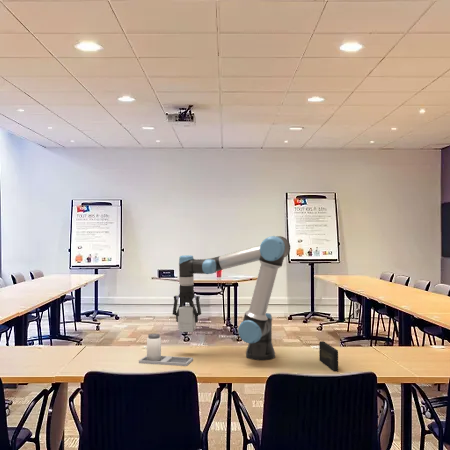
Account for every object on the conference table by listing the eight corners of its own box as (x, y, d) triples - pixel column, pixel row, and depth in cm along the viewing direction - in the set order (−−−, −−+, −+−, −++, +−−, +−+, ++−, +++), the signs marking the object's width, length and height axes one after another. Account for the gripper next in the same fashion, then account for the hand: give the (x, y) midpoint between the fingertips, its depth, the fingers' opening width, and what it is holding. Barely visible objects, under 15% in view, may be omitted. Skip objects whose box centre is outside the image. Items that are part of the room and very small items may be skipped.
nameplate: (338, 371, 239) (338, 350, 239) (334, 372, 238) (334, 350, 238) (322, 360, 259) (322, 340, 259) (319, 360, 259) (319, 341, 259)
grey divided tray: (193, 362, 255) (193, 357, 255) (186, 368, 244) (186, 363, 244) (147, 359, 261) (147, 355, 261) (138, 365, 249) (138, 360, 249)
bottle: (162, 359, 256) (163, 333, 257) (158, 362, 250) (158, 336, 250) (149, 358, 258) (149, 332, 258) (144, 362, 251) (144, 335, 251)
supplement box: (195, 329, 270) (194, 305, 270) (192, 332, 263) (192, 307, 263) (181, 329, 271) (181, 305, 271) (178, 332, 263) (178, 307, 264)
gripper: (207, 284, 268) (207, 327, 268) (170, 284, 273) (170, 326, 273) (203, 285, 261) (204, 330, 261) (165, 285, 266) (166, 329, 265)
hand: (187, 328), depth 267 cm, fingers closed on supplement box, 8 cm apart
